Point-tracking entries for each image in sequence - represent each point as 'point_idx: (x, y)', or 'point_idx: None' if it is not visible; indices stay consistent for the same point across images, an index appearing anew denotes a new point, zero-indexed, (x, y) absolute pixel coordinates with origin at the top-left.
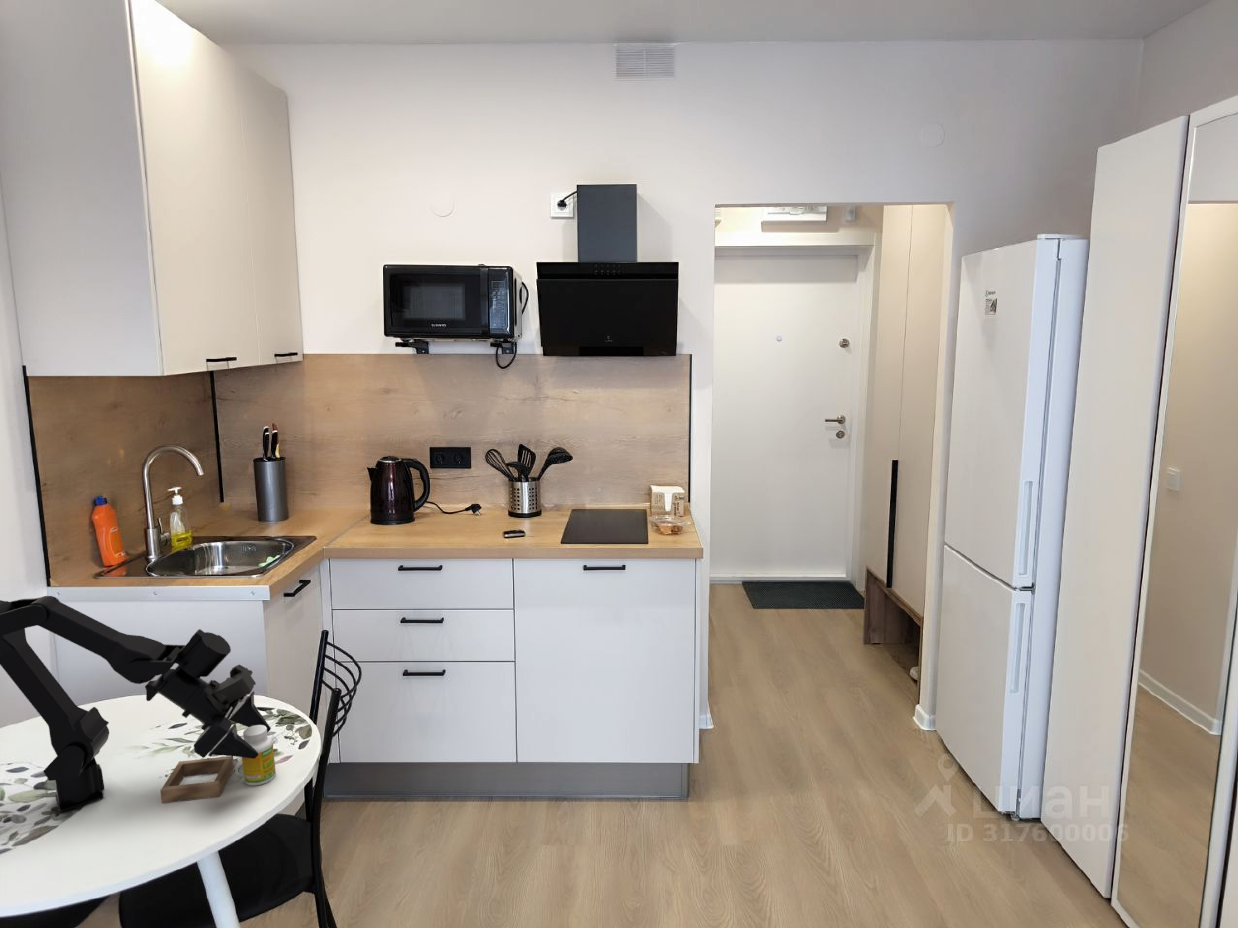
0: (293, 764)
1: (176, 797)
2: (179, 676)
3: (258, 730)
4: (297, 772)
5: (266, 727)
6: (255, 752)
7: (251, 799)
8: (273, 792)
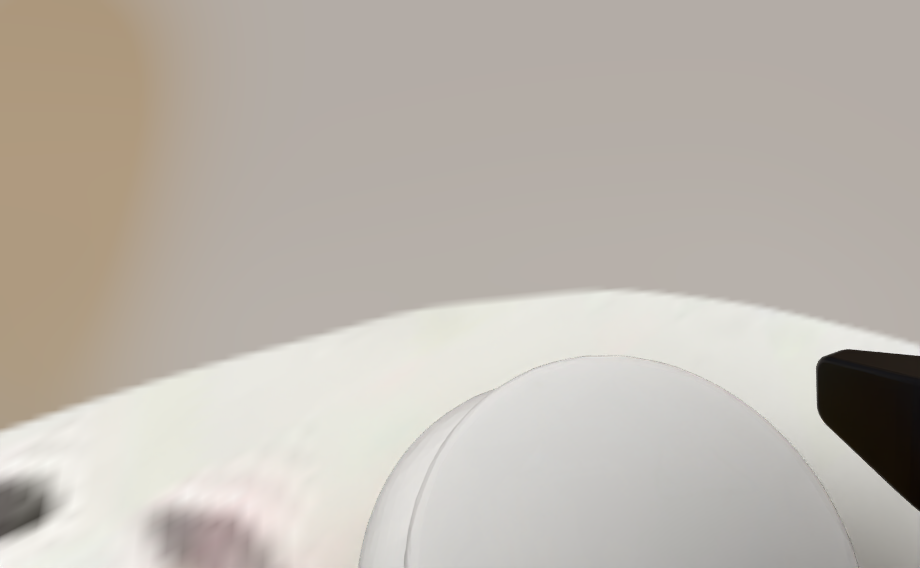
0: (298, 432)
1: None
2: None
3: (629, 481)
4: (402, 348)
5: (489, 395)
6: (891, 355)
7: None
8: None
